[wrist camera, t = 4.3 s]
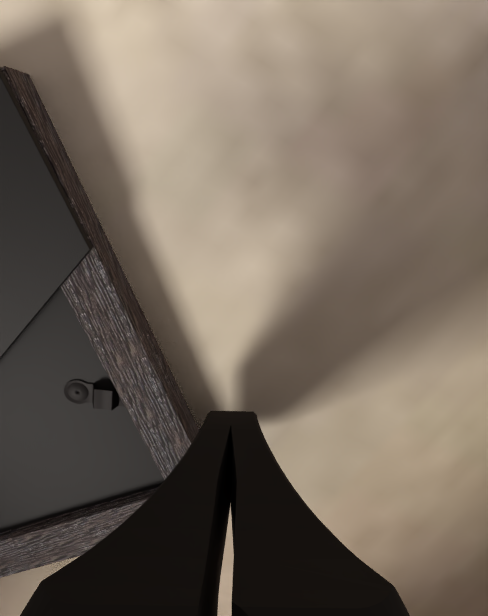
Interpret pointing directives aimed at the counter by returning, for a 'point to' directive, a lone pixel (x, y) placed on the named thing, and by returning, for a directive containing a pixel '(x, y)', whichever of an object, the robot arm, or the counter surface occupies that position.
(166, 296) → the counter surface
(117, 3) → the counter surface
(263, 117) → the counter surface
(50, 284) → the picture frame
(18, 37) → the counter surface
